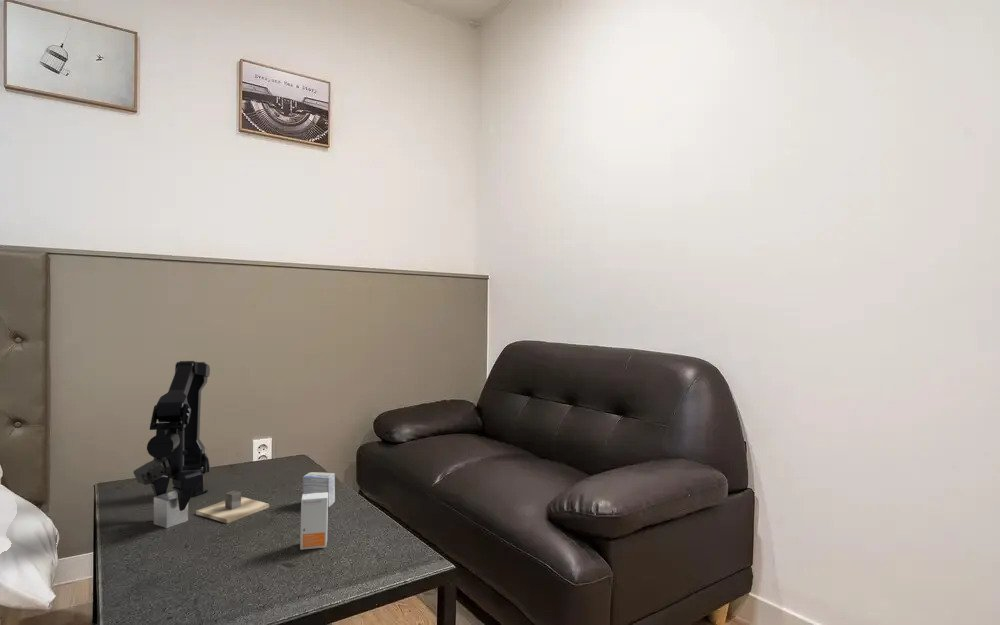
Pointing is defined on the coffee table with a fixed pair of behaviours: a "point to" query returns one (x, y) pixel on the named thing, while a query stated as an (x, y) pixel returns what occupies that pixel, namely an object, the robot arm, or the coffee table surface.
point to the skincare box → (314, 520)
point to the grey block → (168, 510)
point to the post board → (233, 513)
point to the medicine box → (320, 484)
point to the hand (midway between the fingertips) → (171, 507)
